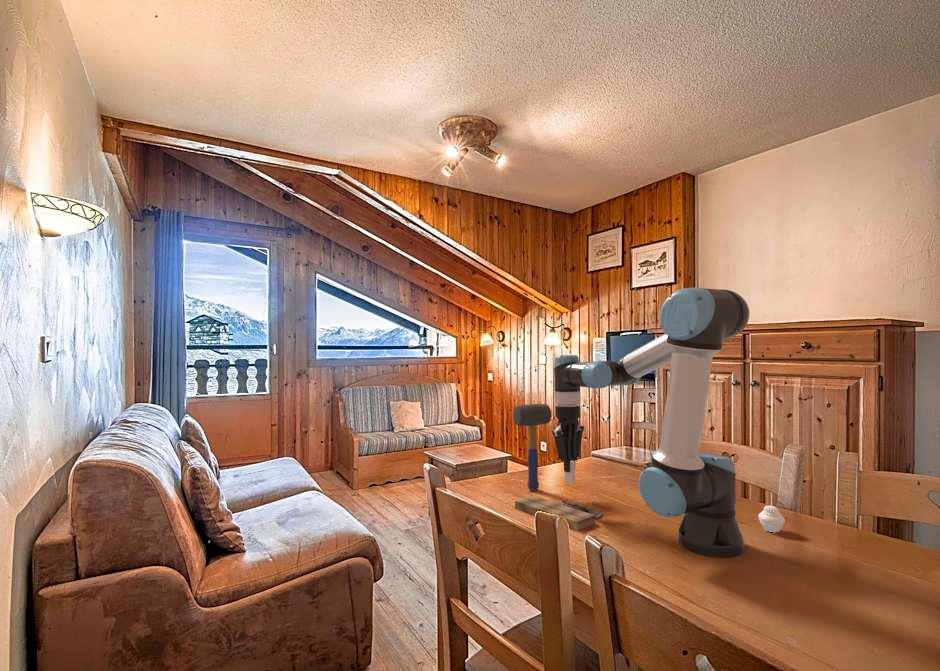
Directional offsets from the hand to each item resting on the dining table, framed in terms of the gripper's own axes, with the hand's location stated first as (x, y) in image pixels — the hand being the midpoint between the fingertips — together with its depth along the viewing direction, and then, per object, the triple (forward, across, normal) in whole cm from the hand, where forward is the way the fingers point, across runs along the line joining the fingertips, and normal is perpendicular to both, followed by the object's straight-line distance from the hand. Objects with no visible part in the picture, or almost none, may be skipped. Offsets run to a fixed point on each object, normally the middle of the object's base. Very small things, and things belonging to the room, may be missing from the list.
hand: (570, 481), depth 152 cm
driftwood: (+10, -2, -1) cm, 10 cm away
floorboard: (+9, +7, -1) cm, 11 cm away
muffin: (+10, -28, +46) cm, 55 cm away
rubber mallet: (+8, -7, -22) cm, 24 cm away
